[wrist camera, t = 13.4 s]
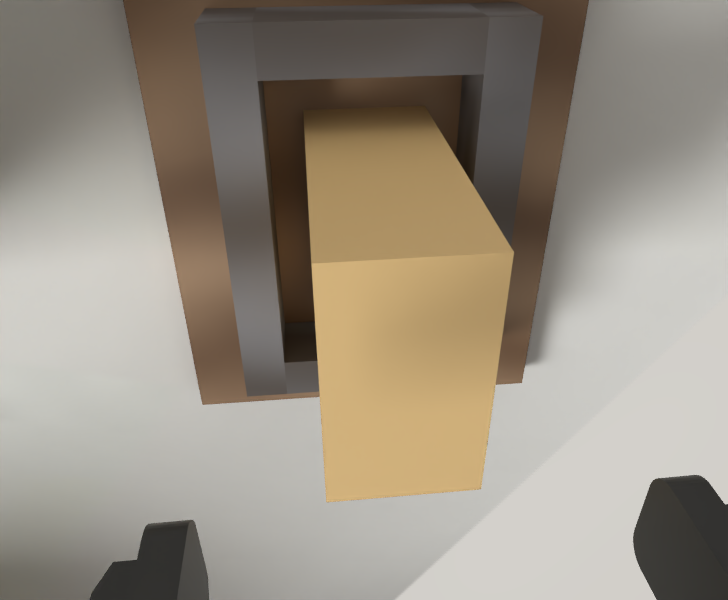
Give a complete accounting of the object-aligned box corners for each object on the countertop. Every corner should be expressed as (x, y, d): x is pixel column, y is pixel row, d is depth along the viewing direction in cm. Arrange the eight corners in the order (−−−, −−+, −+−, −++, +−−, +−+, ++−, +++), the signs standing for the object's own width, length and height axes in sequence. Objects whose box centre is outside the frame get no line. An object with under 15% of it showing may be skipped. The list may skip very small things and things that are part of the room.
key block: (424, 105, 21) (514, 252, 12) (416, 285, 25) (480, 489, 16) (303, 110, 20) (311, 263, 12) (314, 291, 24) (326, 502, 16)
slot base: (515, 368, 29) (540, 422, 26) (205, 389, 28) (195, 448, 25) (591, -96, 19) (646, -93, 16) (113, -92, 18) (79, -88, 15)
